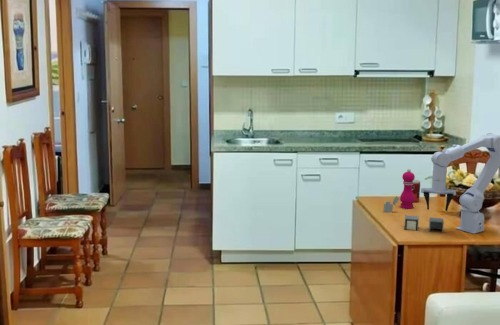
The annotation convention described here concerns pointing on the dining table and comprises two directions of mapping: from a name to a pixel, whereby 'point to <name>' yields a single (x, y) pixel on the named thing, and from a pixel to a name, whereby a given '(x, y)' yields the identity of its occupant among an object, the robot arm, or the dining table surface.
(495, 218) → the dining table surface
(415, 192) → the canned food
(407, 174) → the pepper mill
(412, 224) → the cube
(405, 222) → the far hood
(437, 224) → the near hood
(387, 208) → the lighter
